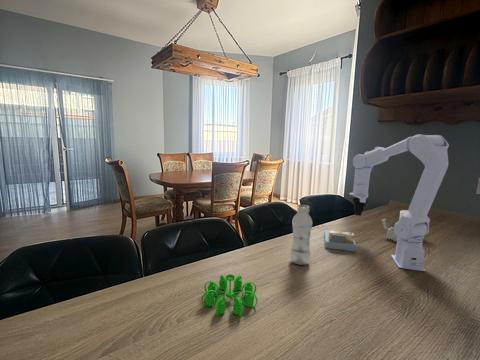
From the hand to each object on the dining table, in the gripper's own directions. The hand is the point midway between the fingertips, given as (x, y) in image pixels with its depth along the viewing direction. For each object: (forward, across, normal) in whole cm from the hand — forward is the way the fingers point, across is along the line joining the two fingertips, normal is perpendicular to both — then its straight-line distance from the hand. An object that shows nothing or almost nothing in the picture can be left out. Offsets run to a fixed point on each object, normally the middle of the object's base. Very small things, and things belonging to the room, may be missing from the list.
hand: (357, 215), depth 110 cm
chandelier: (+11, +57, -39) cm, 69 cm away
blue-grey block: (+10, +8, -8) cm, 15 cm away
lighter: (+11, -5, +14) cm, 18 cm away
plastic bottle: (+11, +30, -22) cm, 39 cm away
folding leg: (+8, +11, -7) cm, 15 cm away
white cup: (+11, -14, +24) cm, 30 cm away
